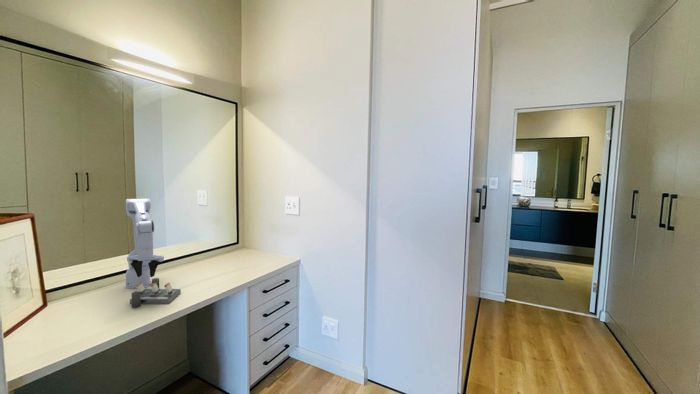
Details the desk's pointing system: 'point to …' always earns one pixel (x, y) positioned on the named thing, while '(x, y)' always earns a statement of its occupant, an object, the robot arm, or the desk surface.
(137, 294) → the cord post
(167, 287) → the orange and white block
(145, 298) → the breaker panel
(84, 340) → the desk surface
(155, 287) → the white and orange block
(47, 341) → the desk surface
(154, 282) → the cylinder
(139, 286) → the white and orange block
